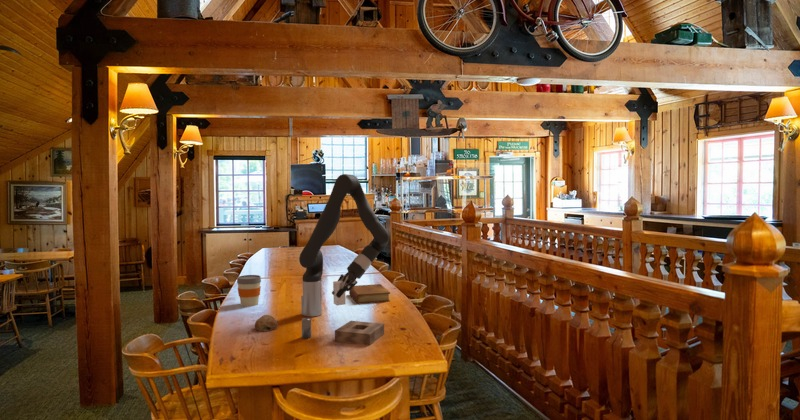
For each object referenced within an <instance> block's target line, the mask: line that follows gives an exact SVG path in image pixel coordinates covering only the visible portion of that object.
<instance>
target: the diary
mask: <svg viewBox="0 0 800 420" xmlns="http://www.w3.org/2000/svg"><path fill="white" fill-rule="evenodd" d="M348 293H349V295H350V297H351V298H352V299H353V300H354V302H355V303H356V304H358V305H359V304H371V303H372V304H373V303H386V302H391V300H390V297H389V295H390V294H391V292H390V291H389V290H388V289H387V288H385V287H384V286H383V285H382V284H380V283H378V284H377V283H375V284H361V285H355V286H354V287H352V288H351V289H350V290H349V291H348Z"/></svg>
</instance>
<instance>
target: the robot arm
mask: <svg viewBox="0 0 800 420" xmlns="http://www.w3.org/2000/svg"><path fill="white" fill-rule="evenodd" d="M348 195H350V196H351V198H352V199H353V201H354V203H355V205H356V208H357V213H358V215H359V218H360V220H361V222H362V223H363V225H364V227H365V228H366V229H367V231H369V232H370V234H371V236H372V237H373V239H372V240H371V241H370V242H369V243H368V244H367V245H366V246H364V248H363V249H362V250H361V251H360V253H358V255H357V256H356V257H355V258H354V259H353V260H352V261H351V263H349V265H348V266H347V267H346V270H347V272H345V274H343V273H342V274H340V276H339V277H338V279H337V281H344V285H343V286H342V289H340V290H339V291H338V292H337V294H336V296H337V297H338V298H340V297H341V296H342V294H343V293H344V292H345V293H346V292H349V290H350V289H351V288H352V287H354V286H357V284H358V281H357V279H361V278H362V276H364V274H365V273H366V272H367V270H368V269H369V268H370V266H371V265H372V263H373V262H374V261H375V259H376V258H377V257H378V255H379V254H381V253H382V251H383V250H384V249H386V247H387V246H388V245H389V241H390V234H389V231H388V230H387V229H386V227H385V226H384V225H383V224H382V223H381V222H380V219H379V218H378V216H377V214H376V213H375V212H374V210H373V208H372V206H371V204H370V203H369V201H368V198H367V196H366V194H365V192H364V189H363V187H362V184H361V182H360V180H359V179H358V177H357V176H356V175H353V174H347V173H342V174H341V175H339V176H338V177H337V178H336V180H335V182H334V185H333V186H332V190H331V192H330V196H329V197H328V200H327V202H326V204H325V206H324V209H323V210H322V212H321V214H320V216H319V218H318V221H317V223H316V225H315V226H314V229H313V230H312V233H311V235H310V237H309V239H308V241H307V243H306V244H305V245H304V247H303V249H302V251H301V252H300V255H299V258H298V259H299V260H298V262H299V264H300V266H301V267H302V268H304V269H305V272H304V273H303V275H302V295H301V296H300V298H301V299H300V300H301V301H300V302H301V303H300V304H301V306H300V308H301V310H300V311H301V312H300V313H301V316H305V317H318V316H321V315H322V314H323V312H322V311H323V305H322V300H323V299H322V297H323V295H322V276H323V272H324V271H323V270H324V269H323V268H324V255H323V252H322V251H321V249H322V247H323V246H324V244H325V243H326V241H327V240H328V239H329V238H330V237H331V236H332V235H333V234H334V233H335V230H336V228H337V226H338V224H339V223H340V220H341V209H342V208H341V207H342V205H343V202H344V200H345V198H346V197H347V196H348ZM331 295H334V292H333V291H331Z"/></svg>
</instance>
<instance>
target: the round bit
mask: <svg viewBox="0 0 800 420" xmlns="http://www.w3.org/2000/svg"><path fill="white" fill-rule="evenodd" d="M301 338H302V339H304V340H306V339H307V340H308V338H309V339H311V338H312V317H303V318H301Z"/></svg>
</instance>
